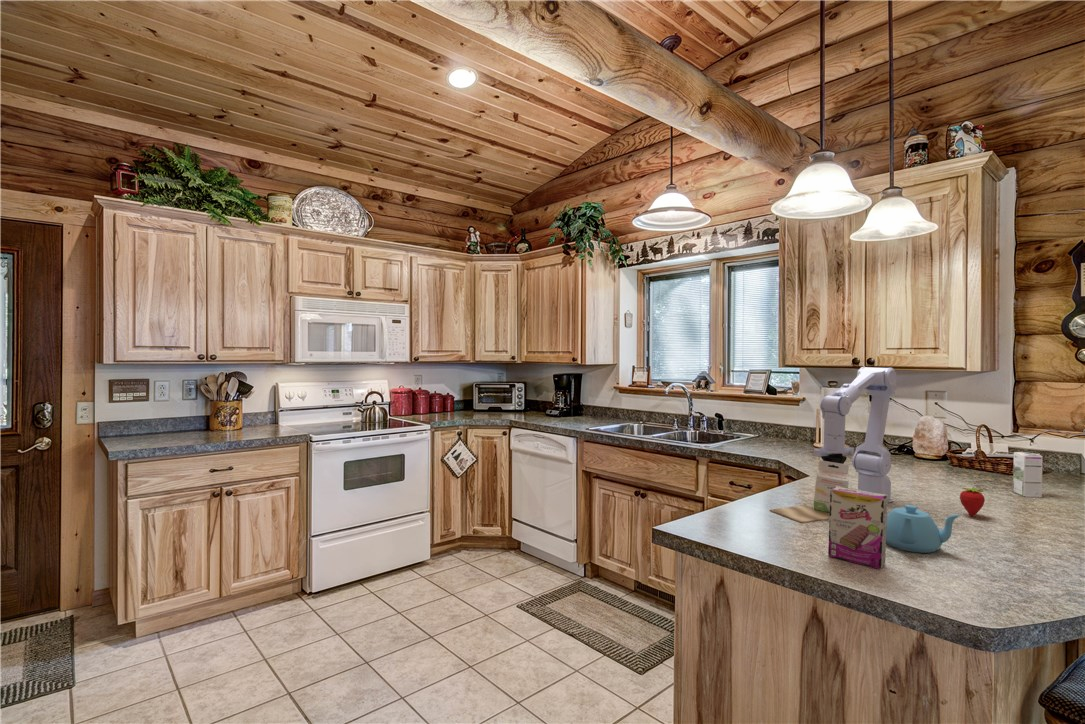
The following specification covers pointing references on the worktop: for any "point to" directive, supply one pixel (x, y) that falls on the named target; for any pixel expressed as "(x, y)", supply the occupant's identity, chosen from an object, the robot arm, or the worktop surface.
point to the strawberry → (972, 500)
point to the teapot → (916, 530)
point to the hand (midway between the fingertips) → (833, 478)
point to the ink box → (829, 483)
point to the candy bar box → (858, 526)
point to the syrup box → (1027, 474)
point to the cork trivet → (802, 514)
